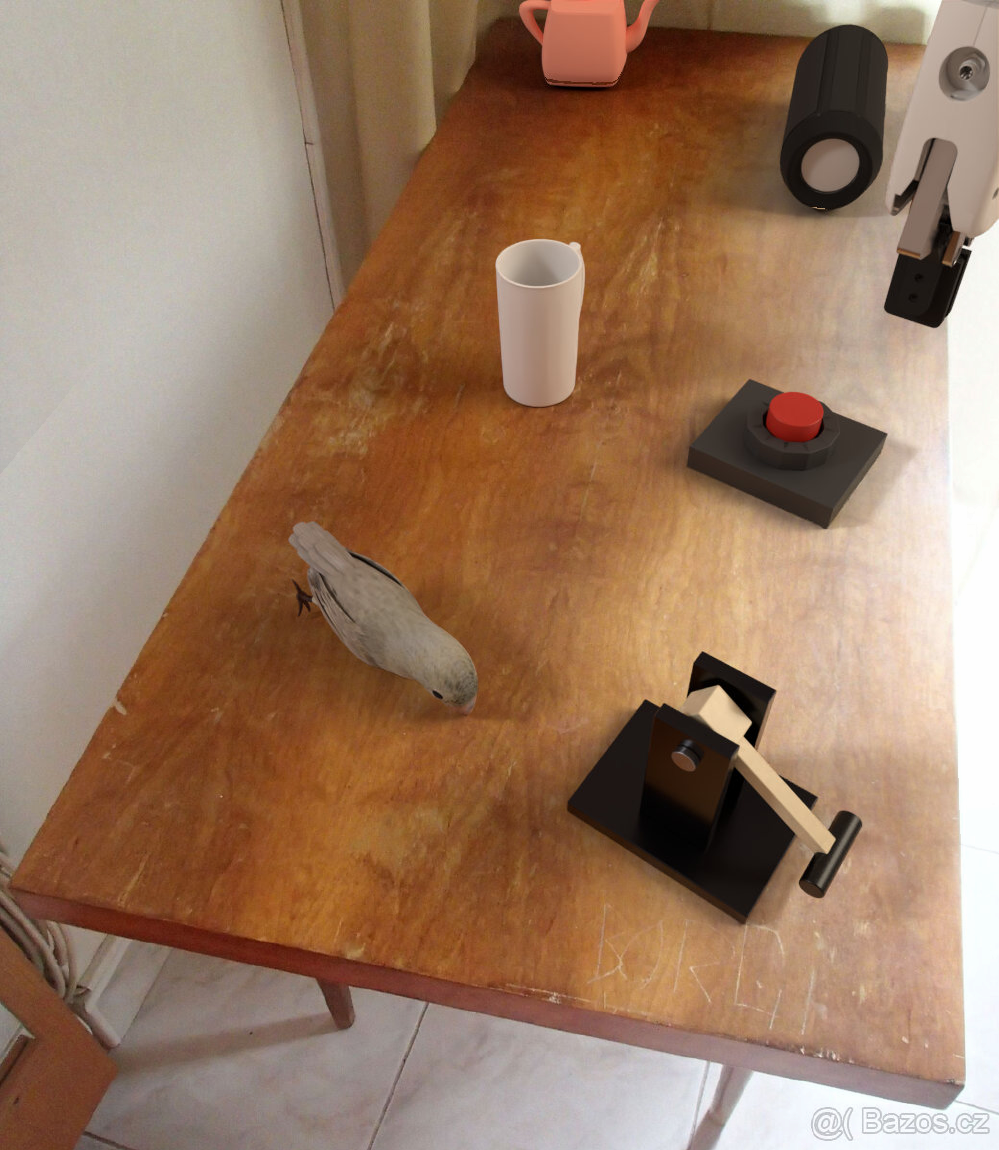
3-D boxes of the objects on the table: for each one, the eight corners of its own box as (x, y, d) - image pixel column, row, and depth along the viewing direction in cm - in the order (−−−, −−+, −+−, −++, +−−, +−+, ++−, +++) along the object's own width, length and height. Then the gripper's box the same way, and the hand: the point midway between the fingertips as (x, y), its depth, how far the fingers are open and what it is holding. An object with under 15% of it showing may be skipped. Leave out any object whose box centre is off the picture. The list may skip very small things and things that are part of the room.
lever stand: (814, 806, 60) (863, 699, 51) (744, 925, 55) (783, 832, 46) (643, 708, 64) (659, 594, 55) (566, 811, 60) (569, 705, 51)
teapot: (526, 52, 130) (525, -36, 122) (664, 56, 128) (672, -34, 120) (513, 91, 123) (511, 0, 115) (659, 96, 120) (668, 4, 112)
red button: (827, 421, 76) (832, 403, 75) (804, 450, 74) (809, 433, 73) (780, 402, 78) (784, 384, 77) (756, 430, 76) (760, 413, 75)
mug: (549, 420, 83) (550, 297, 74) (485, 392, 86) (478, 270, 76) (612, 357, 88) (620, 235, 79) (549, 332, 91) (550, 212, 82)
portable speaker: (868, 224, 100) (894, 127, 93) (769, 214, 102) (786, 118, 95) (876, 110, 116) (899, 19, 108) (790, 102, 118) (806, 12, 110)
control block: (880, 454, 79) (894, 415, 76) (826, 529, 74) (839, 491, 71) (745, 399, 84) (752, 360, 81) (686, 466, 79) (691, 428, 76)
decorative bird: (445, 745, 63) (434, 679, 57) (285, 615, 71) (262, 545, 65) (501, 692, 66) (497, 624, 60) (341, 571, 73) (324, 500, 67)
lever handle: (842, 828, 56) (875, 826, 54) (803, 898, 53) (835, 899, 51) (703, 674, 54) (731, 665, 52) (656, 738, 52) (684, 732, 50)
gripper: (1073, 11, 36) (930, 409, 49) (1179, -101, 43) (1029, 272, 57) (874, -24, 39) (792, 359, 53) (1005, -123, 46) (903, 235, 60)
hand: (915, 313), depth 55 cm, fingers closed
